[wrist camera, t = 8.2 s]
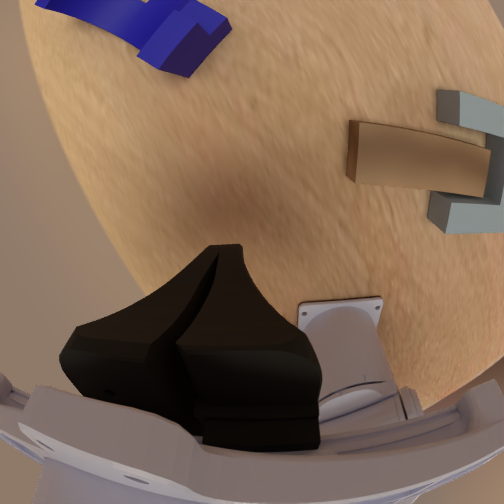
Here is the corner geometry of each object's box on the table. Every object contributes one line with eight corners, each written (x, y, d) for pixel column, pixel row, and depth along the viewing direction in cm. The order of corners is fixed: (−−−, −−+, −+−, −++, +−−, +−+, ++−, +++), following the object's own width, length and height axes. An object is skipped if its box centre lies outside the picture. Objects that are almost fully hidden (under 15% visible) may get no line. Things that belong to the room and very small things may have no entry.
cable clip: (232, 30, 14) (218, 0, 9) (189, 78, 16) (158, 69, 11) (115, -27, 10) (75, -51, 5) (81, 16, 12) (34, 4, 7)
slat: (466, 187, 18) (482, 197, 16) (344, 173, 19) (355, 183, 17) (472, 143, 16) (490, 150, 14) (347, 119, 17) (359, 122, 15)
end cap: (487, 218, 19) (506, 232, 17) (427, 217, 20) (445, 234, 17) (500, 109, 14) (522, 115, 11) (436, 89, 14) (459, 90, 12)
